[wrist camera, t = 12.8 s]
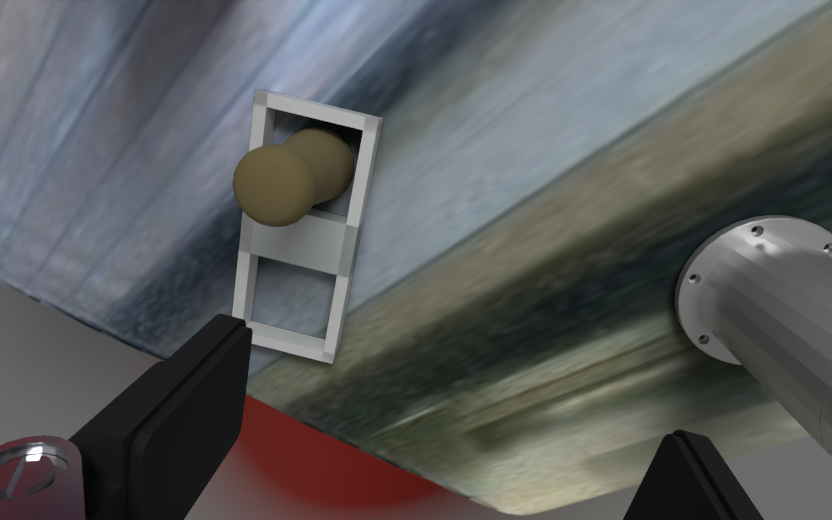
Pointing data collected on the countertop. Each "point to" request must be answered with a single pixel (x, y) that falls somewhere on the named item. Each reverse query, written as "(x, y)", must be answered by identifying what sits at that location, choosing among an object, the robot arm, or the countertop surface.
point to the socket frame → (306, 230)
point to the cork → (292, 176)
